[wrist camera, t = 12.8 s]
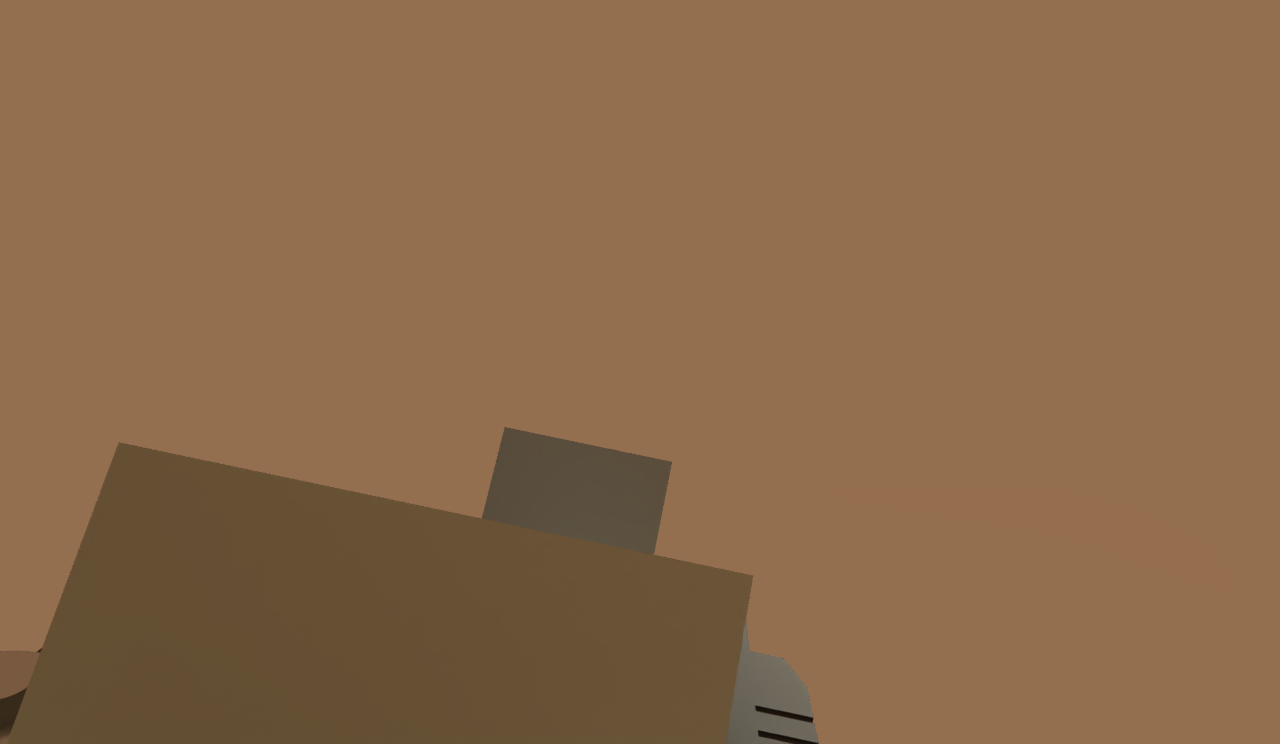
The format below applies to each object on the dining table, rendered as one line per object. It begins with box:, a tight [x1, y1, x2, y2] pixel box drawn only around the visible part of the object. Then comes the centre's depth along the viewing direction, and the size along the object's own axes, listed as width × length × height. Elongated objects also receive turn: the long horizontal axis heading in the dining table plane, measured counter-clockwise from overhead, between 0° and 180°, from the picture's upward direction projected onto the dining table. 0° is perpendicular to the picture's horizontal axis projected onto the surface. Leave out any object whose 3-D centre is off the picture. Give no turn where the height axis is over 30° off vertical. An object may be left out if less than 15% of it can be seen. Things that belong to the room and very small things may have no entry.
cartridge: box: [7, 427, 753, 744], centre depth 15 cm, size 20×4×8 cm, turn 2°
